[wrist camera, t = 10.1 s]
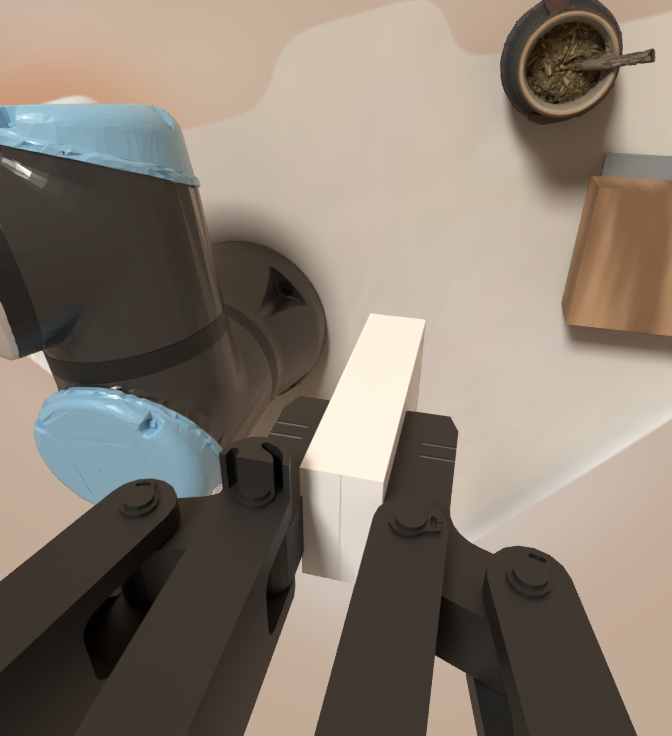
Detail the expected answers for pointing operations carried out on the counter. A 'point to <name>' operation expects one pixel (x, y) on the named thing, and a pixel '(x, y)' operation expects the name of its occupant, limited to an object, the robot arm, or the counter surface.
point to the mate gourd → (563, 59)
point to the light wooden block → (623, 257)
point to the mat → (637, 166)
